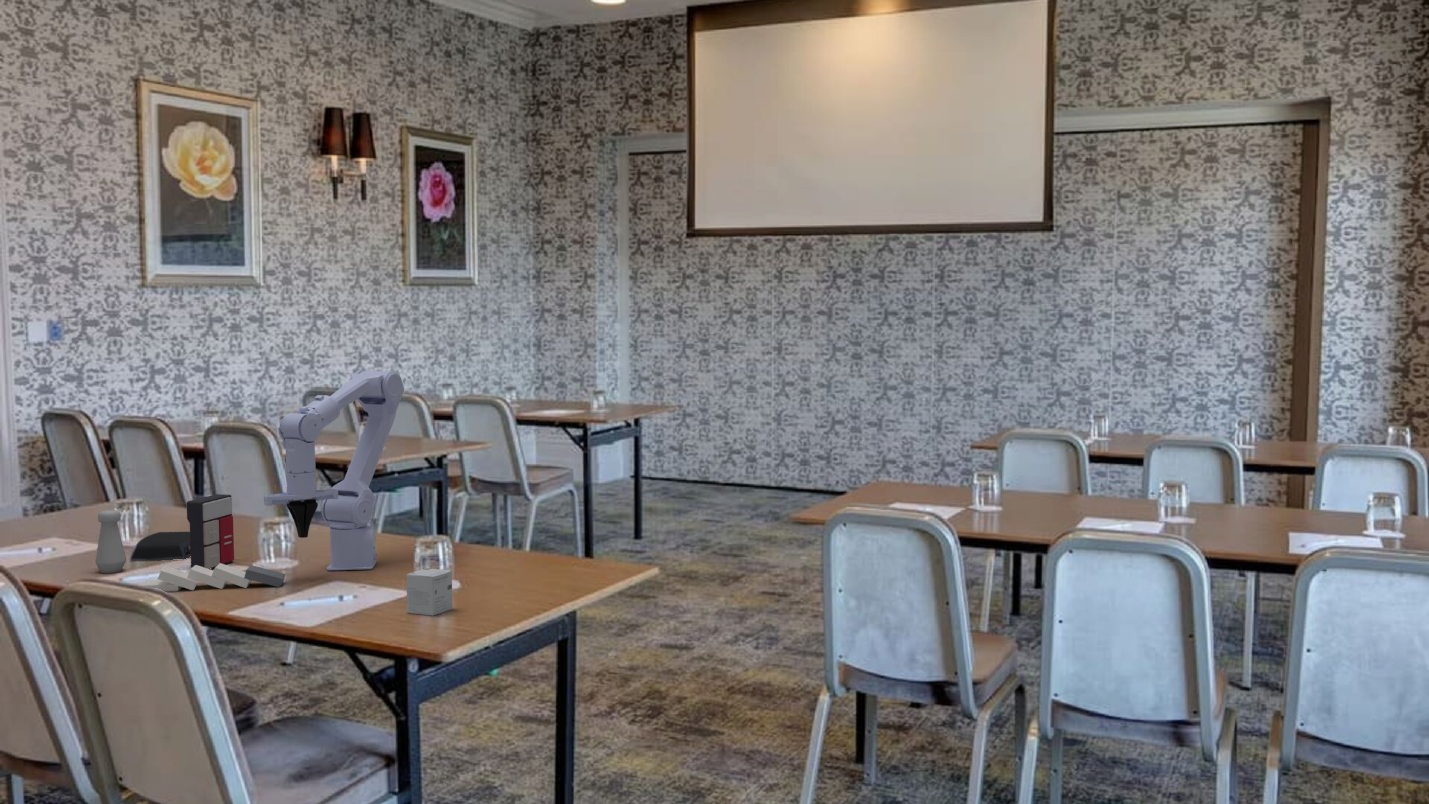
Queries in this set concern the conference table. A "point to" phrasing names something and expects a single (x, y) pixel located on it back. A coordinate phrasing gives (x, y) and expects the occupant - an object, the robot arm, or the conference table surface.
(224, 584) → the tile
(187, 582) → the tile
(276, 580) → the tile
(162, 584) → the tile
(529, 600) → the conference table surface
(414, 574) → the skincare box
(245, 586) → the tile
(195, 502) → the calculator
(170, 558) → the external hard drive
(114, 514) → the salt shaker
